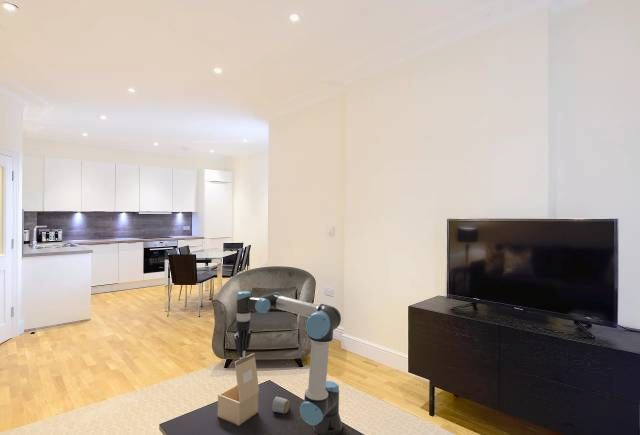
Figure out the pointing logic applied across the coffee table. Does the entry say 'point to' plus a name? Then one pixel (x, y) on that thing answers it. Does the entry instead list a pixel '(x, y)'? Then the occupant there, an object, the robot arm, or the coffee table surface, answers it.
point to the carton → (236, 406)
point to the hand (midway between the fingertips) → (242, 362)
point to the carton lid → (246, 377)
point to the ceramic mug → (280, 405)
